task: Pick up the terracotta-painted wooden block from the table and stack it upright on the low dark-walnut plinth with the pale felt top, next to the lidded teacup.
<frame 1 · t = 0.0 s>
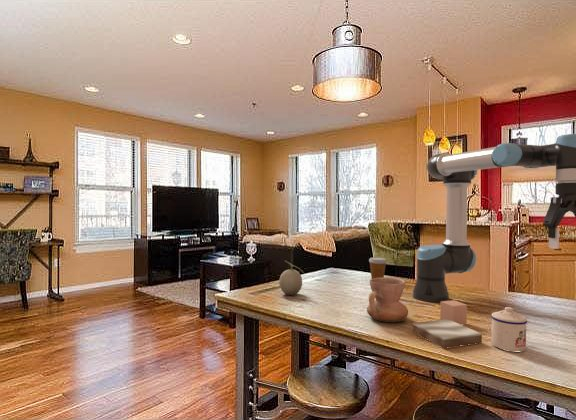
hand: (568, 247, 116), 28 cm above the table, fingers open, 13 cm apart
disposable coffee cup: (377, 280, 195), on the table
fruit: (291, 294, 163), on the table
ceramic jug: (385, 319, 129), on the table
plinth: (445, 337, 112), on the table
block: (453, 322, 126), on the table
teacup with lid: (509, 346, 106), on the table
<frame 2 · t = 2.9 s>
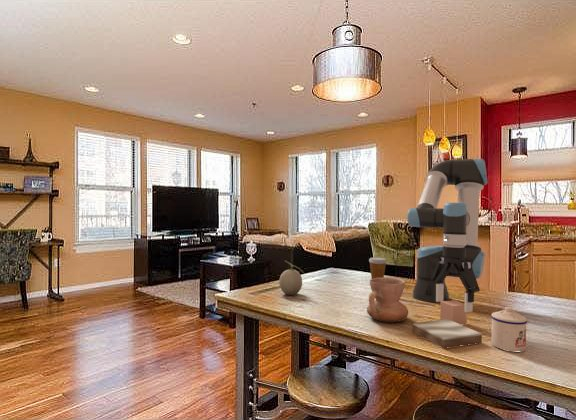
hand: (453, 306, 125), 6 cm above the table, fingers open, 13 cm apart
nothing on the table moved.
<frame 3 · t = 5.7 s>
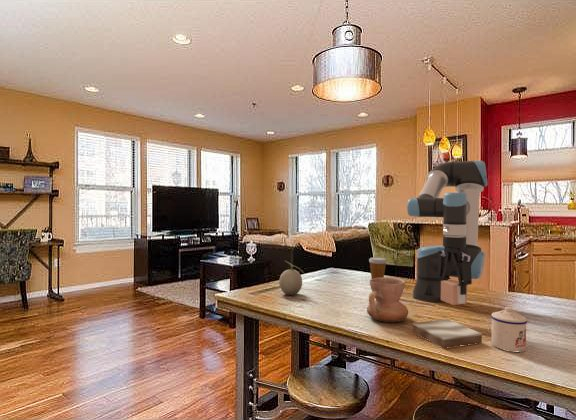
hand: (453, 300, 126), 8 cm above the table, fingers closed on block, 6 cm apart
block: (453, 301, 126), point 7 cm above the table, touching gripper
everything else where it was.
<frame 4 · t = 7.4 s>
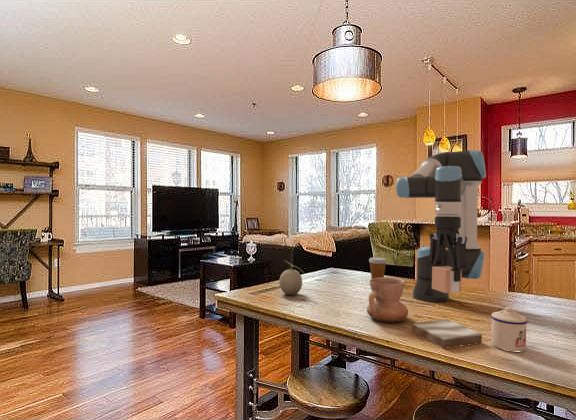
hand: (446, 289, 111), 15 cm above the table, fingers closed on block, 6 cm apart
block: (446, 290, 111), point 15 cm above the table, touching gripper
everything else where it was.
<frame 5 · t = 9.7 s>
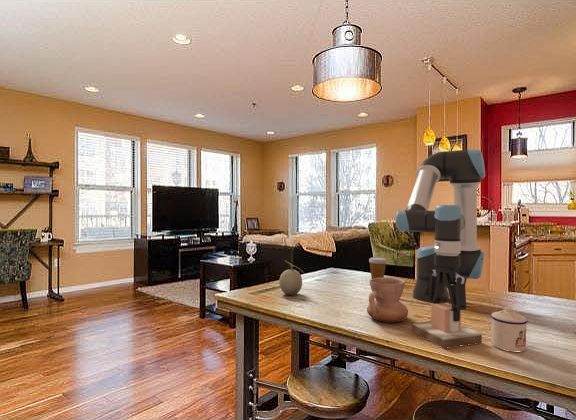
hand: (445, 327, 111), 3 cm above the table, fingers closed on block, plinth, 6 cm apart
block: (445, 328, 111), point 3 cm above the table, touching gripper, plinth
everything else where it was.
when the fingers open (3 cm above the table, at t = 10.6 s): block stays where it is, resting on plinth.
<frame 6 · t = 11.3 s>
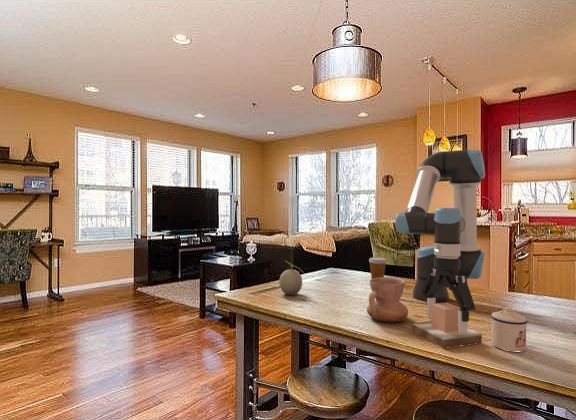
hand: (446, 324, 111), 4 cm above the table, fingers open, 13 cm apart
block: (445, 328, 111), point 3 cm above the table, touching plinth
everything else where it was.
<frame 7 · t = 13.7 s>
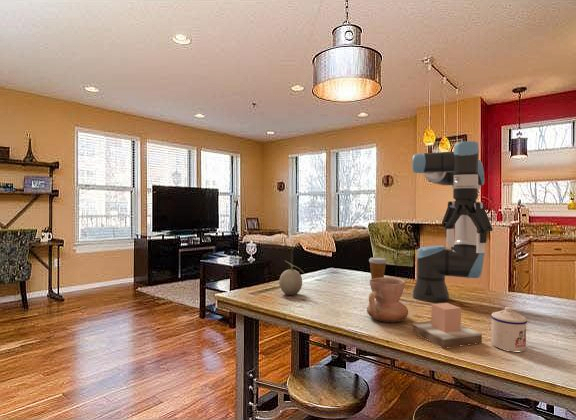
hand: (464, 249, 122), 26 cm above the table, fingers open, 13 cm apart
nothing on the table moved.
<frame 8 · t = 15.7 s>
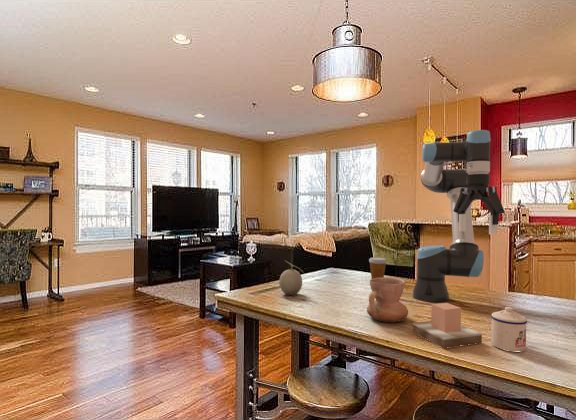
hand: (476, 232, 128), 32 cm above the table, fingers open, 13 cm apart
nothing on the table moved.
at the end: block inside the target area on the plinth (0.2 cm from its centre), point 3.0 cm above the plinth's base; block tilted 0°; the gripper is holding nothing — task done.
